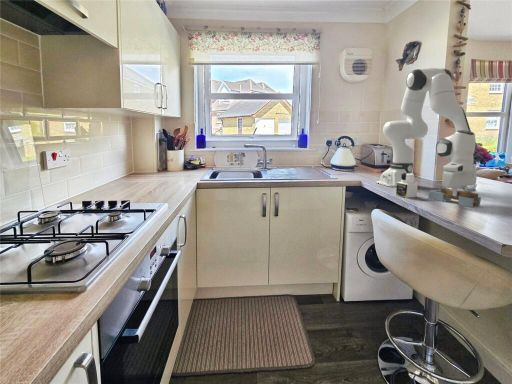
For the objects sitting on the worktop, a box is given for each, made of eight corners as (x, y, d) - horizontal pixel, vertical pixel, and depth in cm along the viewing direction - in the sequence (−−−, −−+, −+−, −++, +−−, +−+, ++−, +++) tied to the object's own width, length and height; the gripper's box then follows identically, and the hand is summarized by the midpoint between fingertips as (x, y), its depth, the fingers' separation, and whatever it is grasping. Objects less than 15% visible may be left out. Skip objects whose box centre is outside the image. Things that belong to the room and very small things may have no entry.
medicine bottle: (395, 195, 175) (397, 172, 173) (406, 194, 178) (408, 172, 175) (406, 198, 169) (407, 174, 166) (416, 197, 171) (418, 173, 169)
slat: (439, 196, 163) (440, 188, 162) (443, 196, 165) (444, 188, 164) (473, 203, 149) (474, 194, 148) (477, 202, 150) (478, 193, 150)
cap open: (458, 204, 154) (459, 196, 153) (466, 203, 156) (467, 195, 156) (471, 207, 148) (472, 198, 148) (480, 206, 151) (481, 197, 150)
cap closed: (428, 198, 167) (429, 190, 166) (436, 197, 170) (437, 189, 169) (442, 201, 160) (443, 193, 160) (450, 200, 163) (451, 192, 163)
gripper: (468, 164, 161) (465, 192, 164) (440, 166, 152) (437, 196, 155) (482, 165, 156) (478, 194, 158) (454, 168, 147) (450, 198, 149)
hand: (458, 195), depth 157 cm, fingers closed on slat, 3 cm apart
